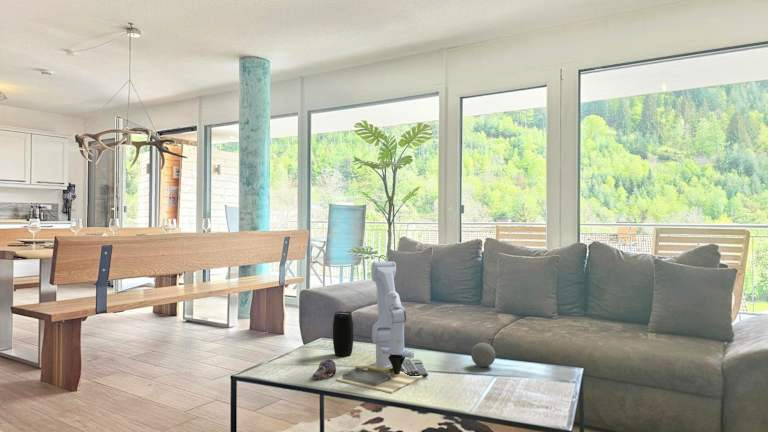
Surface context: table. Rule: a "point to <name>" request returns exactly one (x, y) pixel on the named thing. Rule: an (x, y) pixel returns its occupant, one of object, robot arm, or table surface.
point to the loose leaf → (380, 369)
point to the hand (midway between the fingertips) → (397, 373)
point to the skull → (325, 370)
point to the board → (387, 382)
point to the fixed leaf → (367, 376)
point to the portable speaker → (343, 333)
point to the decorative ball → (483, 354)
